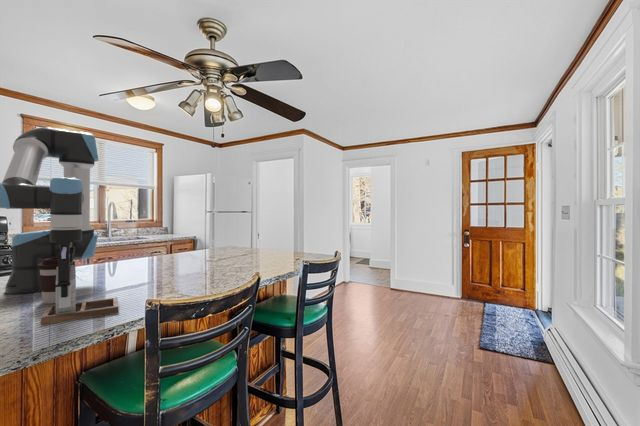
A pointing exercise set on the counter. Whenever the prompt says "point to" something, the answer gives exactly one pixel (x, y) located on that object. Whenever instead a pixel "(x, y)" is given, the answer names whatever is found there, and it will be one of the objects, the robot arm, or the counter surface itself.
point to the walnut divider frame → (81, 311)
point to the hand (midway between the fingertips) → (65, 304)
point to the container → (73, 292)
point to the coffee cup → (48, 279)
